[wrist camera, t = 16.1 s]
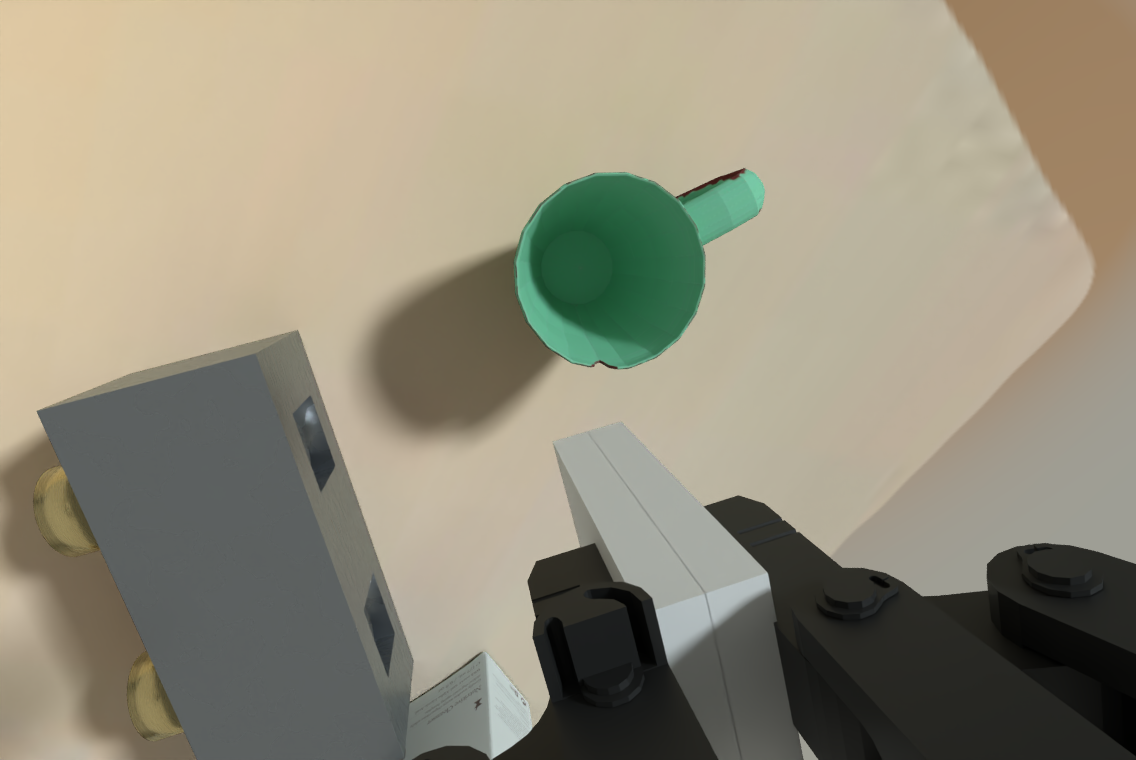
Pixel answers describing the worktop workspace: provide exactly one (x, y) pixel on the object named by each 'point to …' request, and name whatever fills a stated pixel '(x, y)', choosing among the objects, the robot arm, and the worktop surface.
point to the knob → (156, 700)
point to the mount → (242, 554)
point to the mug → (623, 262)
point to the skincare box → (469, 712)
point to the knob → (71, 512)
